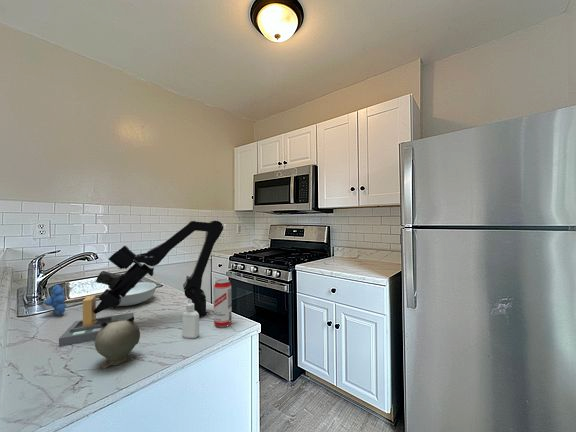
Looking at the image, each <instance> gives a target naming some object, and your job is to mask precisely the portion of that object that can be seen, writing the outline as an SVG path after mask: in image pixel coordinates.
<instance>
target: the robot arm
mask: <svg viewBox="0 0 576 432" xmlns="http://www.w3.org/2000/svg"><path fill="white" fill-rule="evenodd" d="M195 231H197V232H205V236H204V242H203V244H202V248H201V250H200V252H199V256H198V258H197V260H196V263H195V266H194V268H193V272H192V273H191V274H190V276H188V275H186V276H185V281H184V283H183V284H182V287H183V293H184V295H185V297H186V298H187V299H188V300H192V303H194V310H195V311H197V312H198V313H199V319H201V318H202V317H205V316H206V315H207V314H209V313H210V312H209V311H207V299H206V298H207V296H206V293H205V291H204V290H203V289H202V284H203V282H202V281H203V275H204V273H205V270H206V267H207V264H208V262H209V259H210V257H211V254H212V251H213V248H214V246H215V243H216V242H217V240H218V239H219V237H220V236H221V234H222V232H223V231H224V225H223V223H222V222H221V221H219V220H210V221H208V222H205V221H196V220H191V221H188V223H187V224H186V225H185V226H184V227H182V228H181V229H180V230H178V231H176V233H174V235H172V236H170V237H169V238H168V239H166V240H165V241H164V242H162V243H160V244H158V245H156V246H155V247H152V248H150V249H149V250H148V251H146V252H143V253H139V254H136V253H135V252H133V251H132V250H131V249H130V248H129V247H128V246H127V245H124V246H123V245H122V247H121V248H120V249H118V250H117V251H115V252H114V253H113V254H112V255H110V257H109V258H108V261H110V262H111V263H112V264H113V265H114V266H116V267H117V268H118V269H120V270H122V269H123V270H124V269H125V270H126V271H125V272H124V273H121V274H120V275H118V274H115V273H112V272H108V271H105V270H102V271H101V272H99V274H98V276H97V277H96V280H95V282H96V283H97V284H102V285H107V286H108V288H107V289H105V290H104V291H103V292H102V293H101V294H100V295H99V296H98V299H99V300H100V302H99V304H97V305H96V309H95V310H94V313H95V314H96V315H97V314H98V313H101V312H102V311H105V310H107V309H109V308H111V309H113V310H115V309H116V308H117V307H119V306H118V305H119V304H120V303H121V297H120V296H122V297H124V296H125V295H126V294H127V293H128V292H129V291H130V290H131V289H132V288H134V287H135V285H136V284H137V283H138V282H141V280H143V279H144V277H145V276H147V275H149V276H151V277H153V276H154V274H155V273H154V270H155V266H158V265H159V264H160V263H161V262H162V261H163V259H164V258H165V257H166V256H167V255H168V254H169V252H171V250H173V248H175V247H177V246H178V245H179V244H180V243H181V242H183V240H185V239H186V238H188V236H189V237H190V235H191V234H193V233H194V232H195ZM127 269H128V270H127ZM109 288H110V290H108V289H109Z"/></svg>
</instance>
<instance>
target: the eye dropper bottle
mask: <svg viewBox="0 0 576 432" xmlns="http://www.w3.org/2000/svg"><path fill="white" fill-rule="evenodd" d="M181 335H182V337H184V338H186V339H196V338H197V337H199V336H200V318H199V313H198V312H197V311H195V310H194V303H192V300H190V299H188V303H187V304H186V311H184V312H183V313H182V314H181Z"/></svg>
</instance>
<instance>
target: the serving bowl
mask: <svg viewBox="0 0 576 432" xmlns="http://www.w3.org/2000/svg"><path fill="white" fill-rule="evenodd" d="M156 288H157V284H156V283H154V282H148V281H147V282H145V281H139V282H138V283H137V284H136V285H135V287H134V288H132V289H131V290H130V291H129V292H128V293H127V294H126V295H125V296H124V297H122V296H120V297H121V303H120V304H119V305H118V306H117V307H129V306H135V305H137V304H138V305H139V304H141V303H144V302H146V301H147V300H149V299H151V298H152V297H153V296H154V294H155V292H156V290H157V289H156ZM107 289H108V290H110V288H109V287H108V288H107Z"/></svg>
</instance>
